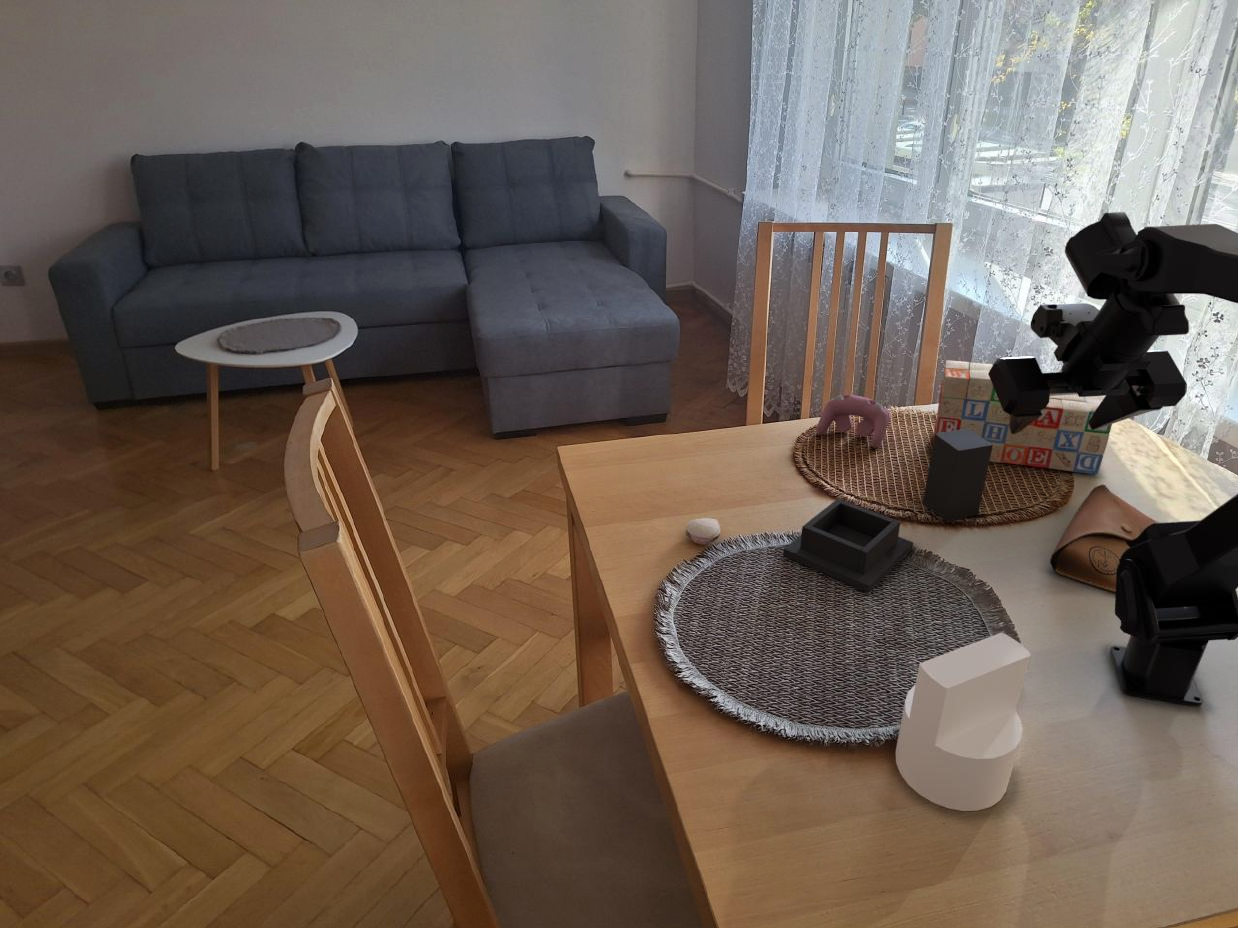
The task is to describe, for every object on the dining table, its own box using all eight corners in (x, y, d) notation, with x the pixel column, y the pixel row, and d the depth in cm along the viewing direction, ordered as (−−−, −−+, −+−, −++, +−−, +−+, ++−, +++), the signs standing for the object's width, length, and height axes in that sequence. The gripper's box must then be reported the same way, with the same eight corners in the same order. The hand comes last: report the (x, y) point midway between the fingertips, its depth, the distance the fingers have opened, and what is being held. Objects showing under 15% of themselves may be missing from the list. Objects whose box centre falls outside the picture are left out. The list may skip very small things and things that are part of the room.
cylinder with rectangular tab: (947, 827, 66) (974, 716, 60) (873, 746, 73) (891, 641, 67) (1032, 787, 69) (1065, 678, 63) (953, 713, 76) (976, 610, 70)
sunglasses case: (1132, 595, 89) (1111, 540, 88) (1063, 600, 94) (1043, 548, 93) (1162, 521, 101) (1144, 472, 100) (1100, 530, 106) (1082, 483, 105)
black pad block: (978, 515, 105) (993, 444, 100) (944, 521, 103) (958, 451, 99) (954, 496, 109) (968, 428, 104) (922, 502, 108) (934, 433, 103)
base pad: (912, 549, 98) (917, 520, 97) (868, 592, 92) (872, 563, 90) (830, 517, 105) (833, 490, 103) (782, 555, 98) (785, 527, 96)
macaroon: (679, 541, 101) (679, 523, 100) (700, 522, 105) (701, 505, 104) (709, 552, 99) (709, 535, 98) (730, 533, 102) (731, 516, 101)
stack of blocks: (1092, 455, 117) (1115, 374, 111) (1098, 476, 112) (1122, 393, 106) (932, 435, 124) (945, 358, 118) (930, 454, 119) (944, 374, 113)
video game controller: (885, 450, 123) (896, 404, 123) (878, 449, 119) (890, 401, 119) (821, 435, 128) (832, 390, 127) (812, 433, 124) (824, 388, 123)
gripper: (1177, 272, 86) (1104, 370, 99) (1000, 280, 85) (950, 378, 98) (1228, 353, 80) (1143, 446, 93) (1038, 362, 79) (979, 455, 92)
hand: (1051, 428), depth 94 cm, fingers open, 9 cm apart
